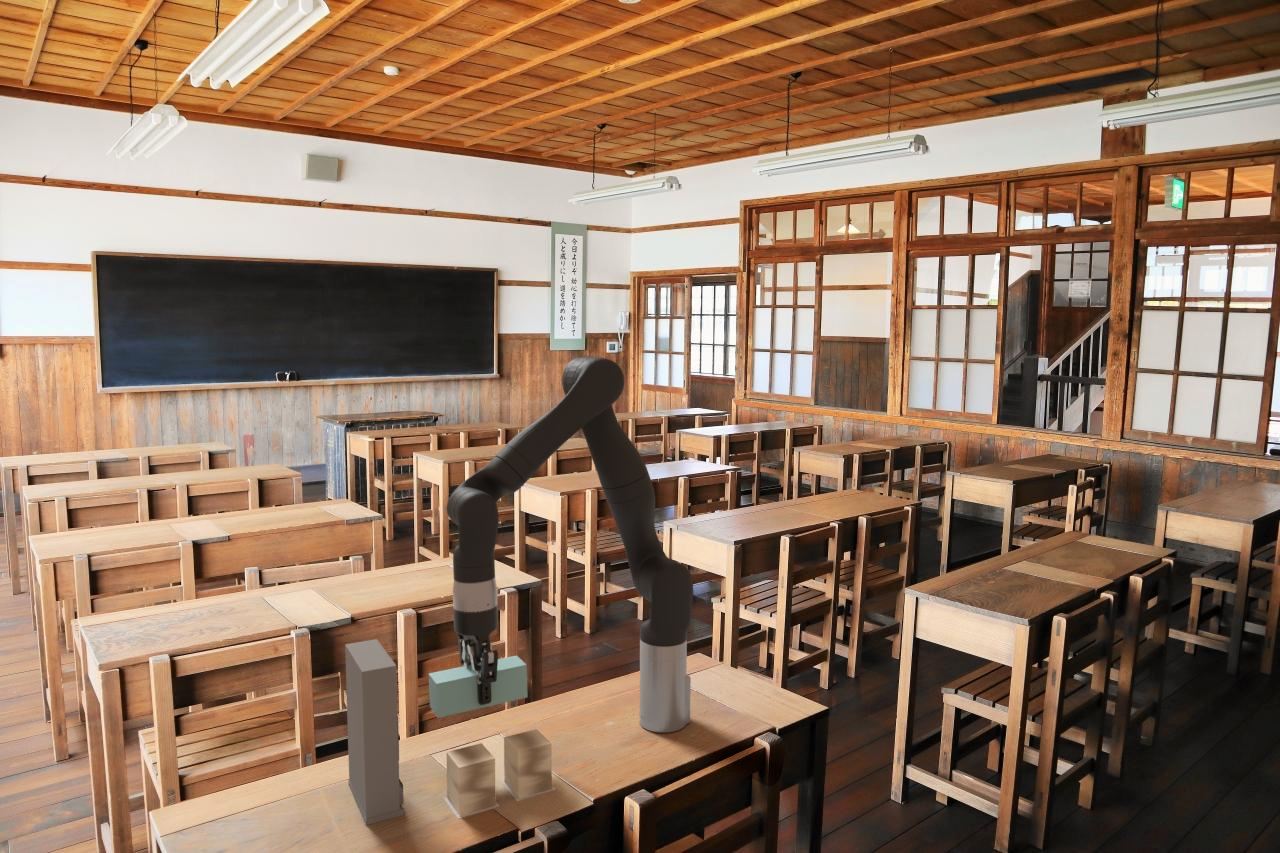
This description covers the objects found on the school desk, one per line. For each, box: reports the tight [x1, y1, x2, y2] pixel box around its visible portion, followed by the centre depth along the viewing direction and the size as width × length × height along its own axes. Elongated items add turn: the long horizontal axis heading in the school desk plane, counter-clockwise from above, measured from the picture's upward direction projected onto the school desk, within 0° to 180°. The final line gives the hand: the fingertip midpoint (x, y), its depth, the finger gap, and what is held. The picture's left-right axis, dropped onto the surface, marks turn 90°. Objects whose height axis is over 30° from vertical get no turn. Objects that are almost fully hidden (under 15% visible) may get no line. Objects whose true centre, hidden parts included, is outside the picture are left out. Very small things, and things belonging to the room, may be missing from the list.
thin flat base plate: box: [443, 780, 557, 820], centre depth 139 cm, size 20×10×1 cm, turn 121°
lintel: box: [428, 655, 528, 719], centre depth 146 cm, size 16×5×6 cm, turn 119°
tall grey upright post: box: [344, 638, 405, 826], centre depth 136 cm, size 14×6×25 cm, turn 30°
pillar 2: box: [503, 728, 553, 799], centre depth 141 cm, size 6×6×8 cm
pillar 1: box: [446, 742, 497, 816], centre depth 136 cm, size 6×6×8 cm
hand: (478, 697), depth 146 cm, fingers closed on lintel, 5 cm apart
